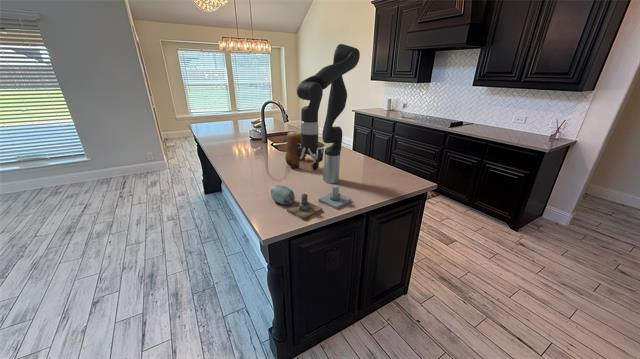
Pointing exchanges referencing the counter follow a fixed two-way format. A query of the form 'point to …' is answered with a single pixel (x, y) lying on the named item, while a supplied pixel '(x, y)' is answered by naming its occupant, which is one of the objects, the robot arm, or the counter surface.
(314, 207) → the stand
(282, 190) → the teal-grey streaked oval part
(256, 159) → the counter surface
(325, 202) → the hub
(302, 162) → the square wooden frame
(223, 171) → the counter surface
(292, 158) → the butternut squash
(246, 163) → the counter surface
